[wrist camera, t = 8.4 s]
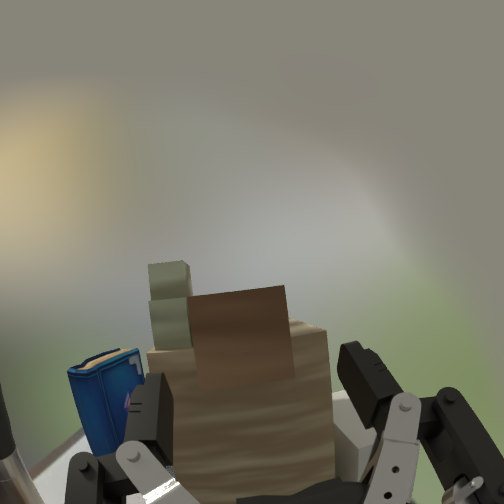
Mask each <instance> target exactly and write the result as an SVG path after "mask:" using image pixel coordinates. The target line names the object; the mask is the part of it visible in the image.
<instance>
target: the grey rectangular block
mask: <svg viewBox="0 0 504 504" xmlns="http://www.w3.org/2000/svg"><path fill="white" fill-rule="evenodd" d="M332 403H333V421H334V444H335V478H336V477H341V479H342V481H355V482H359V481H360V478H361V476H362V474H363V472H364V470H365V467H366V465H367V462H368V459H369V456H370V453H371V449H372V446H373V443H374V440H375V436H376V431H375V429H374V427H372V428H370V429H367V430H366V429H365V427H364V426H363V424H362V422H361V420H360V418H359V416H358V414H357V412H356V410H355V408H354V406H353V404H352V402H351V400H350V398H349V396H348V395H347V393H346V391H345V390H343V391H339V392H335V393H332ZM416 444H418V445H419V448H420V440H416ZM418 455H419V450H418ZM417 461H418V456H417ZM417 461H416V466H415V470H414V475H413V479H412V483H411V487H410V491H409V494H408V498H407V501H406V502H407V503H410V500H411V496H412V491H413V485H414V480H415V474H416V469H417Z"/></svg>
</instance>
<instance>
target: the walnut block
mask: <svg viewBox="0 0 504 504" xmlns="http://www.w3.org/2000/svg"><path fill="white" fill-rule="evenodd" d="M187 303H188V311H189V319H190V326H191V333H192V340H193V347H194V353H195V360H196V366H197V372H198V378H199V384H200V389H201V391H202V390H213V389H222V388H231V387H239V386H246V385H253V384H260V383H266V382H272V381H278V380H284V379H289V378H295V370H294V361H293V352H292V343H291V335H290V327H289V318H288V310H287V302H286V295H285V287H284V285H282V286H273V287H266V288H258V289H251V290H242V291H234V292H225V293H217V294H209V295H200V296H190V297H187Z"/></svg>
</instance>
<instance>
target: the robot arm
mask: <svg viewBox="0 0 504 504" xmlns="http://www.w3.org/2000/svg"><path fill="white" fill-rule="evenodd" d="M337 373H338V377H339V379H340V381H341V383H342V385H343V387H344V389H345V391H346V393H347V395H348V396H349V398H350V400H351V402H352V404H353V406H354V408H355V410H356V412H357V414H358V416H359V418H360V420H361V422H362V424H363V426H364V427H365V429H366V430H367V429H370V428H372V427H374V429H375V431H376V436H375V440H374V443H373V446H372V449H371V453H370V456H369V459H368V462H367V465H366V467H365V470H364V472H363V474H362V476H361V478H360V481H359V482H355V481H342V479H341V477H336V478H333V479H330V480H326V481H323V482H319V483H316V484H314V485H312V486H310V487H308V488H306V489H304V490H302V491H300V492H297V493H295V494H293V495H258V496H251V497H244V498H236V502H237V503H236V504H410V503H407V502H406V501H407V498H408V494H409V491H410V487H411V483H412V479H413V475H414V470H415V466H416V461H417V456H418V450H419V445H418V444H416V440H420V442H421V444H422V446H423V448H424V450H425V452H426V454H427V455H428V458H429V459H430V462H431V463H432V465H433V467H434V469H435V471H436V473H437V475H438V478H439V480H440V482H441V484H442V486H443V488H444V490H445V493H444V495H443V497H442V504H504V458H503V456H502V455H501V453H500V452H499V450H498V448H497V447H496V445H495V443H494V442H493V440H492V439H491V437H490V435H489V434H488V432H487V431H486V429H485V428H484V426H483V425H482V423H481V422H480V420H479V419H478V417H477V416H476V414H475V413H474V411H473V410H472V408H471V407H470V406H469V404H468V403H467V401H466V400H465V399H464V397H463V396H462V394H461V393H460V392H459V391H458V390H457V389H455V388H452V387H445V388H443V389H441V390H439V392H438V393H437V395H436V396H434V397H426V398H418V397H417V396H416V395H413V394H412V393H407V392H403V390H402V389H401V387H400V386H399V385H398V383H397V382H396V380H395V379H394V377H393V376H392V375H391V373H390V372H389V370H387V367H386V366H385V364H384V363H383V362H382V360H381V359H380V357H379V356H378V354H376V353H374V352H373V351H372V350H370V349H369V348H368V349H365V350H364V349H363V348H362V346H361V344H360V343H359V342H358V341H353V342H349V343H345V344H342V345H341V347H340V353H339V359H338V364H337ZM128 411H129V413H128V417H127V423H126V430H125V437H124V442H123V444H121V445H120V446H119V448H118V449H117V451H115V452H113V453H111V454H107V455H103V456H98V457H95V456H94V455H93V454H91V453H88V452H80V453H77V454H75V455H74V456H73V457H72V458H71V460H70V462H69V468H68V476H67V484H66V493H65V504H126V496H127V495H131V494H136V493H141V494H142V495H143V497H144V498H145V501H146V502H147V504H200V503H199V502H198V501H197V500H196V499H195V498H194V497H193V496H192V495H191V494H190V493H189V492H188V491H187V490H186V489H185V488H184V487H183V486H182V485H181V484H180V483H179V482H178V481H177V480H175V479H174V478H173V477H172V476H171V474H170V473H169V472H168V471H167V470H166V466H171V465H173V421H174V400H173V395H172V392H171V390H170V387H169V385H168V382H167V379H166V377H165V374H164V373H163V372H157V373H147V374H146V378H145V384H144V385H137V386H136V387H135V389H134V390H133V392H132V393H131V399H130V405H129V410H128ZM0 504H45V503H44V502H43V500H42V498H41V496H40V495H39V493H38V491H37V489H36V487H35V485H34V483H33V481H32V479H31V477H30V475H29V473H28V471H27V469H26V467H25V465H24V463H23V460H22V458H21V456H20V454H19V451H18V449H17V446H16V444H15V441H14V439H13V436H12V431H11V426H10V420H9V417H8V413H7V410H6V406H5V402H4V398H3V394H2V389H1V384H0Z"/></svg>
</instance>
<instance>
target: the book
mask: <svg viewBox="0 0 504 504" xmlns="http://www.w3.org/2000/svg"><path fill="white" fill-rule="evenodd" d="M67 373H68V378H69V381H70V385H71V389H72V393H73V397H74V400H75V404H76V407H77V410H78V413H79V417H80V420H81V423H82V426H83V429H84V432H85V434H86V437H87V440H88V443H89V445H90V448H91V450H92V453H93V455H94V456H95V457H98V456H103V455H107V454H111V453H113V452H115V451H117V449H118V448H119V446H120V445H121V444H123V442H124V437H125V430H126V423H127V417H128V413H129V411H128V410H129V405H130V399H131V393H132V392H133V390H134V389H135V387H136V386H137V385H144V384H145V378H144V373H143V368H142V364H141V358H140V353H139V350H138V349H137V348H136V349H133V350H132V349H129V348H127V349H124V350H120V348H118V349H115V350H111V351H107V352H103V353H101V354H99V355H96V356H93V357H91V358H88V359H86V360H85V361H84V362H83V363H82V364H81V365H76V366H73V367H71V368H70V369H69V370H68V371H67Z"/></svg>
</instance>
